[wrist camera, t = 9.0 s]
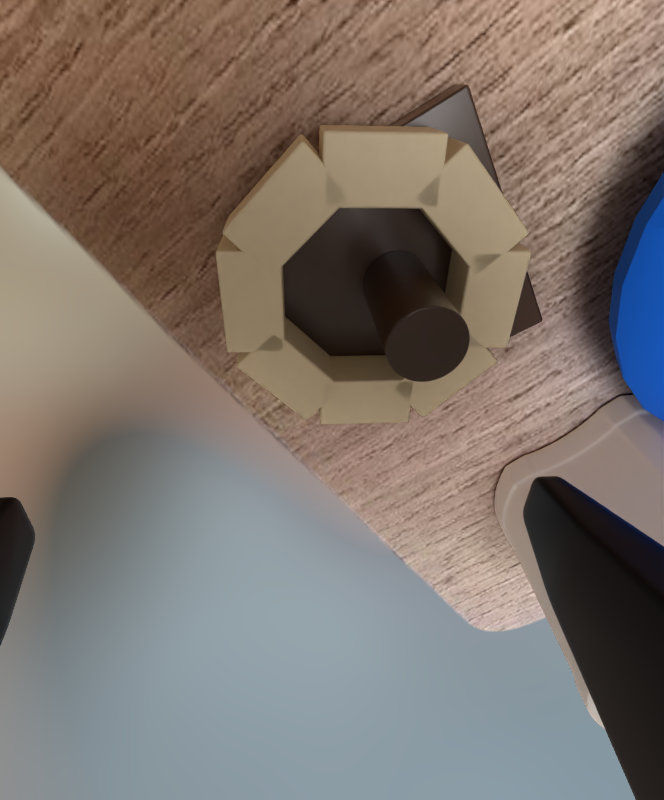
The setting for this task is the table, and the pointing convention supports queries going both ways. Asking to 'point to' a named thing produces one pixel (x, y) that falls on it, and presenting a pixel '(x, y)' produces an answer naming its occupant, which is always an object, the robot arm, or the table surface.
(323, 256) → the stand
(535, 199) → the table surface
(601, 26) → the table surface
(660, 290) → the blue rounded piece
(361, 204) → the ring
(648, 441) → the jar
